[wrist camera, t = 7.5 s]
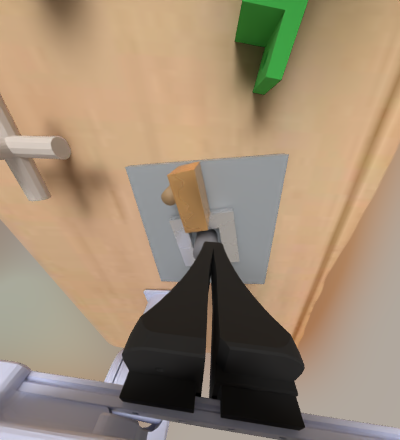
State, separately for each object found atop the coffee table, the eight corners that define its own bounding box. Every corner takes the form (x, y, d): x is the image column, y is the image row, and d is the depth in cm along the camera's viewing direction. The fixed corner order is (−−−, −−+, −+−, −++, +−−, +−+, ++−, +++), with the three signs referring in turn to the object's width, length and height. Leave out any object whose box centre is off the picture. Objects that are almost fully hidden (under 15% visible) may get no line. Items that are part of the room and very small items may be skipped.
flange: (238, 255, 22) (243, 281, 18) (187, 260, 24) (181, 285, 20) (225, 155, 16) (228, 162, 12) (155, 171, 17) (137, 181, 13)
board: (262, 278, 26) (271, 306, 22) (163, 275, 28) (153, 301, 24) (284, 153, 16) (308, 160, 12) (130, 165, 18) (104, 174, 14)
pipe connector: (-2, 90, 16) (-260, 38, 7) (85, 91, 15) (-88, 33, 7) (44, 183, 21) (-77, 216, 12) (111, 186, 20) (33, 225, 12)
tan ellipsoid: (185, 192, 18) (178, 205, 15) (173, 192, 18) (162, 205, 15) (183, 178, 17) (175, 189, 14) (170, 179, 18) (159, 190, 14)
